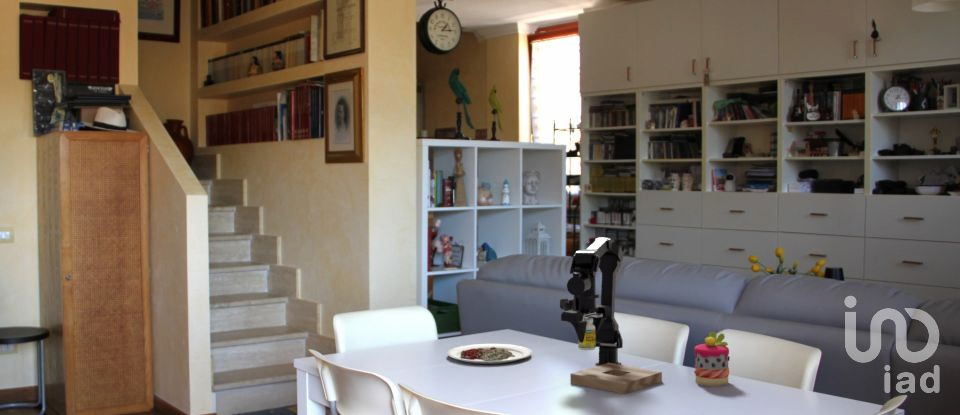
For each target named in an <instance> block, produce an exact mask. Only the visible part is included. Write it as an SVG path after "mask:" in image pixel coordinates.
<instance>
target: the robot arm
mask: <svg viewBox="0 0 960 415" xmlns="http://www.w3.org/2000/svg"><path fill="white" fill-rule="evenodd" d="M623 254H624V253H623V250H622V248H621V246H619V245H618V244H616V243H615V242H613V240H612V238H609V237H597V238H595V239H594V241H593V242H592V244H590V245H588V247H587V248H586V249H579V250H576V251H575V253H574V255H573V256H572V260H571V266H570V269H569V274H571V275H572V277H570V278H569V279H568V281H567V283H566V289H567V291H568V293H569V294H570V295H571V296H573V299H570V300H569V299H568V298H561V299H559V308H560V310H563V311H562V312H561V313H560V321H561V322H568V323H570V324H571V325H572V326H573V328H574V330H575V333H576V335H577V339H579V342H583V340H584V336H585V330H586V326H587V321H584V318H586V317H588V318H593V323H592V324H593V325H594V326H595V340H596V348H598V362H595V363H594V364H595V365H596V366H599V365H602V364H606V363H614V364H619V365H623V363H622V362H619V361H618V360H619V359H618V358H619V353H618V351H619V350H620V349H622V348H624V346H623V345H624V339H623V338H622V333H621V332H620V330H619V328H620V326H619V323H618V321H617V319H616V318H615V305H616V303H615V302H616V282H617V280H616V279H617V278H616V275H617V273H618V272H619V270H620V268H621V266H622V263H623V259H624V258H623V257H624V255H623ZM599 270H600V273H601V286H600V287H601V291H600V292H601V293H600V296H599V294H598V293H596V286H597V284H596V276H597V272H598V271H599ZM599 297H600V304H597V301H596V300H597V299H598V298H599ZM618 349H619V350H618Z"/></svg>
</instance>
